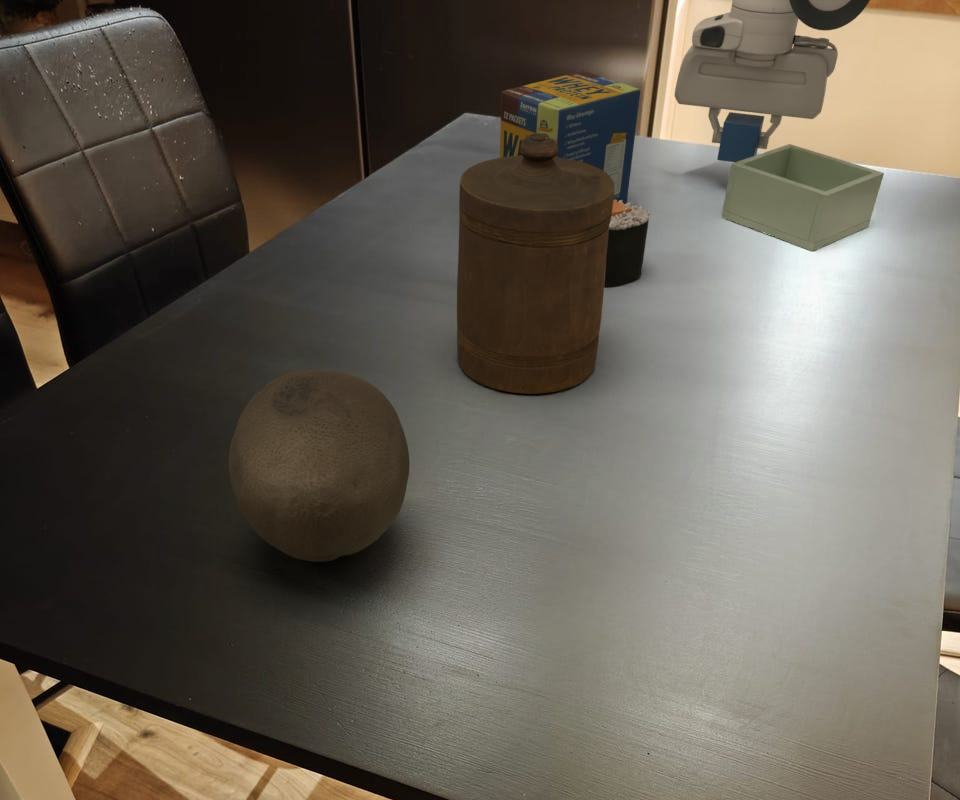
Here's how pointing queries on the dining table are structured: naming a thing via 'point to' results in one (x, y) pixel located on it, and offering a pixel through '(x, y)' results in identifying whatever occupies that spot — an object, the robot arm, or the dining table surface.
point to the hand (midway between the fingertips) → (739, 144)
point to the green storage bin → (801, 196)
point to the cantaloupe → (319, 464)
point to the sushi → (625, 243)
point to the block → (739, 137)
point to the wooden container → (531, 268)
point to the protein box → (576, 121)
